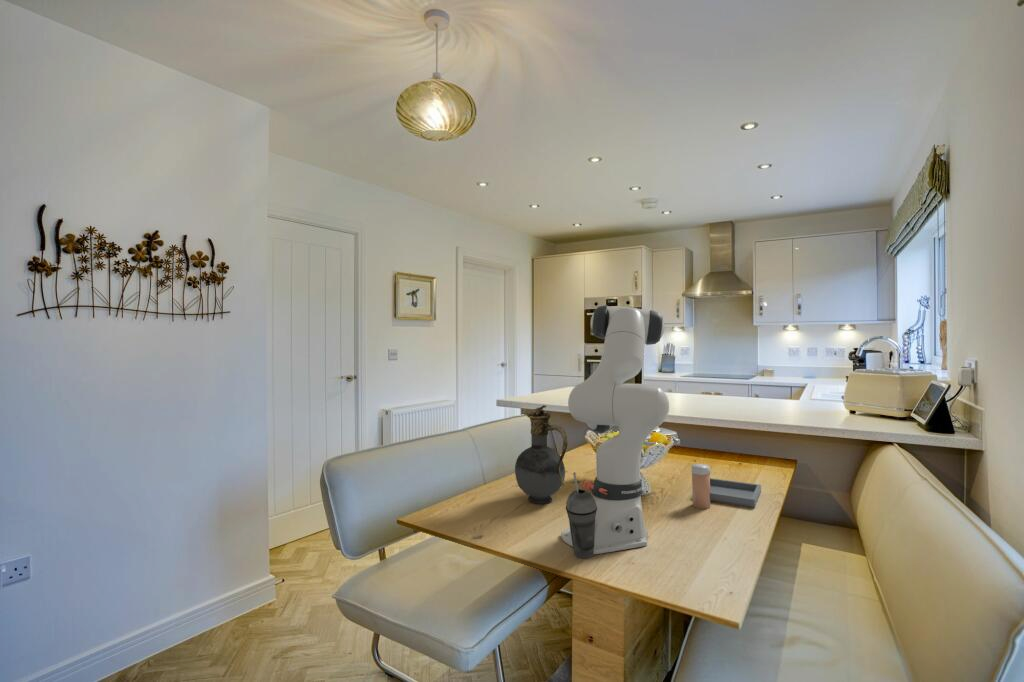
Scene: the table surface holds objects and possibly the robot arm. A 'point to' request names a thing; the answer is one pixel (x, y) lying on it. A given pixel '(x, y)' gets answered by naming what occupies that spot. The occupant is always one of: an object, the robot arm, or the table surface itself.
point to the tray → (734, 492)
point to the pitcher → (541, 461)
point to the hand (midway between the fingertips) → (668, 444)
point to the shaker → (701, 486)
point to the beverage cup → (582, 521)
